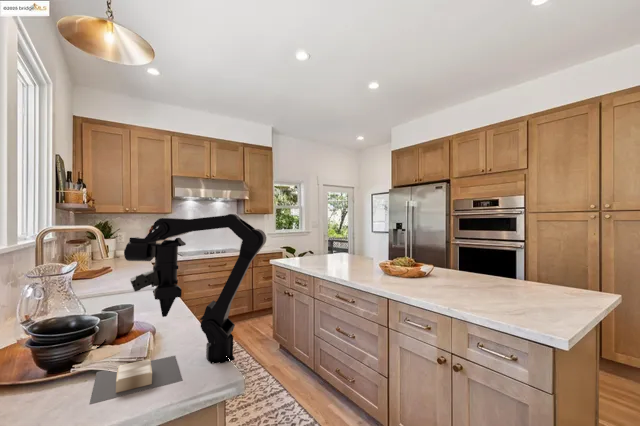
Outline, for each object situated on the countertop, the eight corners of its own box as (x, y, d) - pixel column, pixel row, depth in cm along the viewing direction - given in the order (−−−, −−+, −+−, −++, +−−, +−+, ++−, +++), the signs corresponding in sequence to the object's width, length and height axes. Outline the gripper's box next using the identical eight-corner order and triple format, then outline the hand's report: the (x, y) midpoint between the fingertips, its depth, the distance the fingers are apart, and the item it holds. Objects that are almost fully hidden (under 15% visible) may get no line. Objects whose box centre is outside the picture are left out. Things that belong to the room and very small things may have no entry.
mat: (175, 357, 84) (175, 355, 84) (182, 382, 71) (182, 380, 71) (96, 374, 74) (96, 371, 74) (89, 407, 61) (89, 404, 61)
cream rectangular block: (150, 358, 76) (152, 372, 69) (150, 369, 76) (151, 384, 69) (117, 365, 72) (116, 380, 65) (117, 377, 72) (115, 393, 65)
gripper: (133, 259, 87) (131, 311, 87) (132, 268, 71) (130, 332, 71) (174, 257, 93) (172, 306, 93) (182, 265, 77) (180, 324, 77)
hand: (164, 316), depth 83 cm, fingers closed
